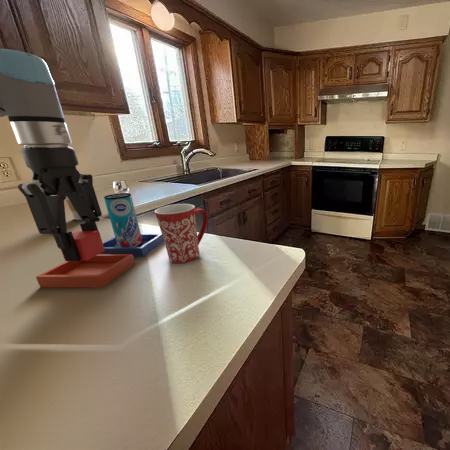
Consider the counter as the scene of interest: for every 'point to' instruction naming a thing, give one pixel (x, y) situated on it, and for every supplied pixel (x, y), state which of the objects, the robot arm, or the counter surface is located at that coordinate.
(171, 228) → the mug
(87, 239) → the red block
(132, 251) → the blue tray
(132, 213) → the beverage can
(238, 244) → the counter surface
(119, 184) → the wineglass
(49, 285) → the red tray
